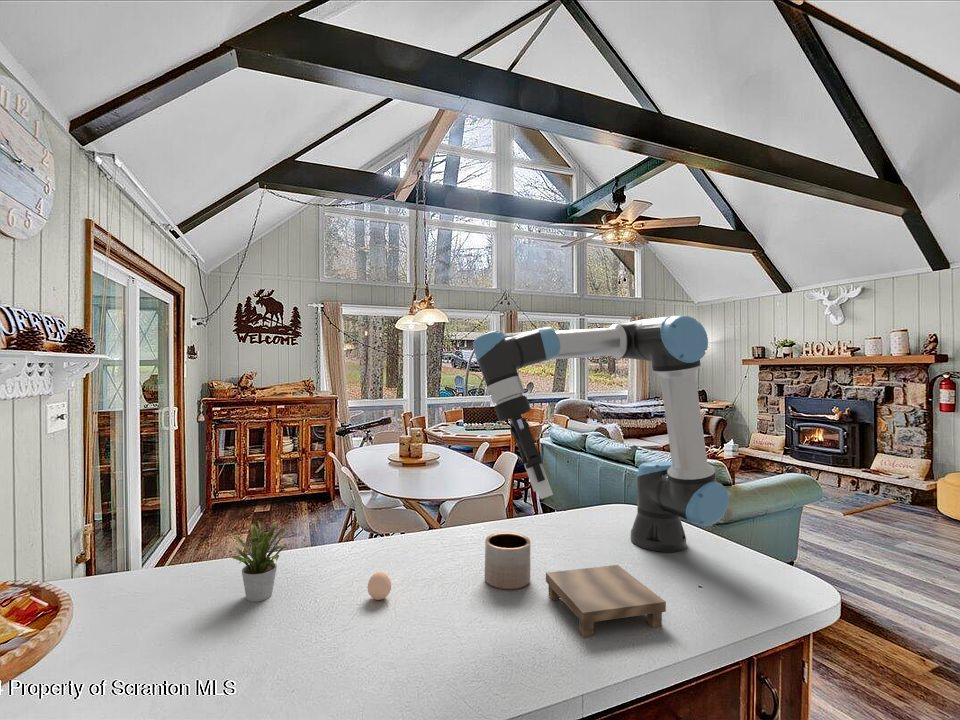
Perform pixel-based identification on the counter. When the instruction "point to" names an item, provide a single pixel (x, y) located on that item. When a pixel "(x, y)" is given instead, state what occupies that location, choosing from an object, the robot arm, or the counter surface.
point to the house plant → (259, 563)
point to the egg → (379, 585)
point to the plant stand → (604, 596)
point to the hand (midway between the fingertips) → (542, 493)
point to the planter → (507, 561)
